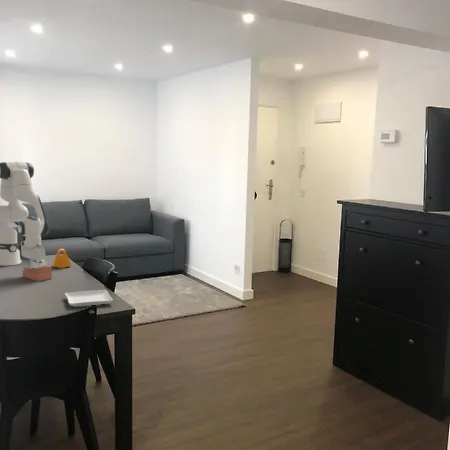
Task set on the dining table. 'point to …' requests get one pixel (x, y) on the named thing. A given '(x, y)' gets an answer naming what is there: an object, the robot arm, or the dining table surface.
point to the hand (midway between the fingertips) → (33, 266)
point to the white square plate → (88, 298)
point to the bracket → (61, 260)
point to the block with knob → (38, 264)
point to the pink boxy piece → (38, 273)
